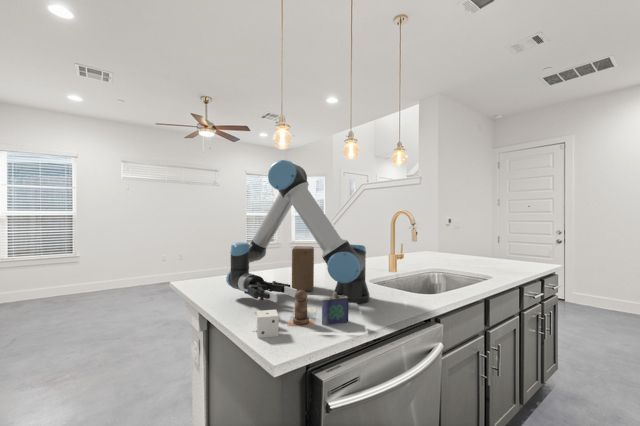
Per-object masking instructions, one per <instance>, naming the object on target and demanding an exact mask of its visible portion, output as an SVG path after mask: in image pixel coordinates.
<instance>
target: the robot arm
mask: <svg viewBox="0 0 640 426" xmlns="http://www.w3.org/2000/svg"><path fill="white" fill-rule="evenodd" d="M267 180H268V182H269V183H268V184H269V185H270V186H271V187H272V188H273V189H275V190H277V191H278V192H279V193H278V195H277V196H276V198H275V199H274V201H273V203H272V205H271V207H270V209H269V211H268V212H267V214H266V216H265V217H264V219H263V220H262V222H261V224H260V226H259V228H258V230H257V231H256V233H255V235H254V236H253V238H252V240H251V242H250V244H249V242H241V241H240V242H233V243H232V244H231V246H230V271H229V272H228V273H227V275H226V278H225V279H226V284H227V285H228V286H229V287H231V288H233V289H234V290H239V291H242V292H243V293H244V294H245V295H246V294H247V295H249V296H250V297H251V298H253V299H255V300H257V299H259V298H260V301H264V300H267V301H268V300H269V301H271V302H274V303H278V293H283V294H284V295H287V296H290V297H292V298H295V294H296V292H297V289H294V288H292V287H291V284H288V283H282V282H279V281H276V280H273V281H271V282H269V281H266V280H265V279H264V278H263V277H262V276H260V275H256V274H254V273H250V263H253V262H257V261H260V260H262V259H264V257H266V254H267V247H268V246H269V245H270V243H271V241H272V239H273V238H274V236H275V234H276V233H277V231H278V229H279V227H280V226H281V225H282V223H283V221H284V220H285V217H286V216H287V214H288V213H289V211H290V210H291V208H292V206H293V208H294V209H295V211H296V212H297V214H298V216H299V217H300V219H301V220H302V222H303V223H304V224H305V227H306V228H307V229H308V231H309V233H310V234H311V236H312V237H313V238H314V240H315V242H316V243H317V244H318V246H319V247H320V250H322V255H321V256H322V259H323V261H324V262H325V264H326V265H327V266H326V267H327V273H328V275H329V276H330V278H331V279H332V280H334V281H335V282H336V286H335V288H334V290H333V293H334V292H335V291H336V294H337V295H338V296H340V295H343V296H347V297H348V298H349V303H356V304H357V305H358V304H366V303H368V302H369V301H370V300H369V299H370V298H371V297H370V292H369V288H368V285H367V282H366V273H367V272H366V262H367V261H366V260H367V259H366V254H367V251H366V246H365V245H361V244H350V242H349V241H348V240H347V239H343V238H341V236H340V235H339V233H338V231H337V230H336V229H335V227H334V226H333V225H332V222H331V221H330V220H329V218H328V216H326V214H325V212H324V211H323V209H322V208H321V207H320V205H319V204H318V202H317V201H316V199H315V198H314V196H313V195H312V193H311V192H310V190H309V182H308V175H307V173H306V170H304V168H303V167H301V166H300V165H298V164H295V163H293V162H292V161H290V160H286V159H285V160H284V159H280V160H277V161H276V162H275V161H274V163H272V164H271V166H270V167H269V169H268V174H267Z"/></svg>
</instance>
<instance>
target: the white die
mask: <svg viewBox="0 0 640 426" xmlns="http://www.w3.org/2000/svg"><path fill="white" fill-rule="evenodd" d="M256 336H257V339H261V338H263V339H264V338H271V337H279V313H278V311H277V309H266V310H264V309H263V310H256Z"/></svg>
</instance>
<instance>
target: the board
mask: <svg viewBox="0 0 640 426" xmlns="http://www.w3.org/2000/svg"><path fill="white" fill-rule="evenodd" d="M316 313H317V307H314V306H313V307H309V306H307V316H308V317H309V323H308V324H306V325H295V324H293V317H295V306H294V307H293V309H292V312H291V315H290V317H289V320H288V323H287V327H315V323H316V320H315V319H316Z"/></svg>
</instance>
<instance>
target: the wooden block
mask: <svg viewBox="0 0 640 426" xmlns="http://www.w3.org/2000/svg"><path fill="white" fill-rule="evenodd" d="M314 261H315V247H314V246H309V245H304V246H299V245H297V246H293V248H292V250H291V288H294V289H297V291H299V290H304V291H305V292H312V291H314V283H315V282H314V280H315V279H314V277H315V276H314V275H315V272H314V271H315V268H314V267H315V262H314Z"/></svg>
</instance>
